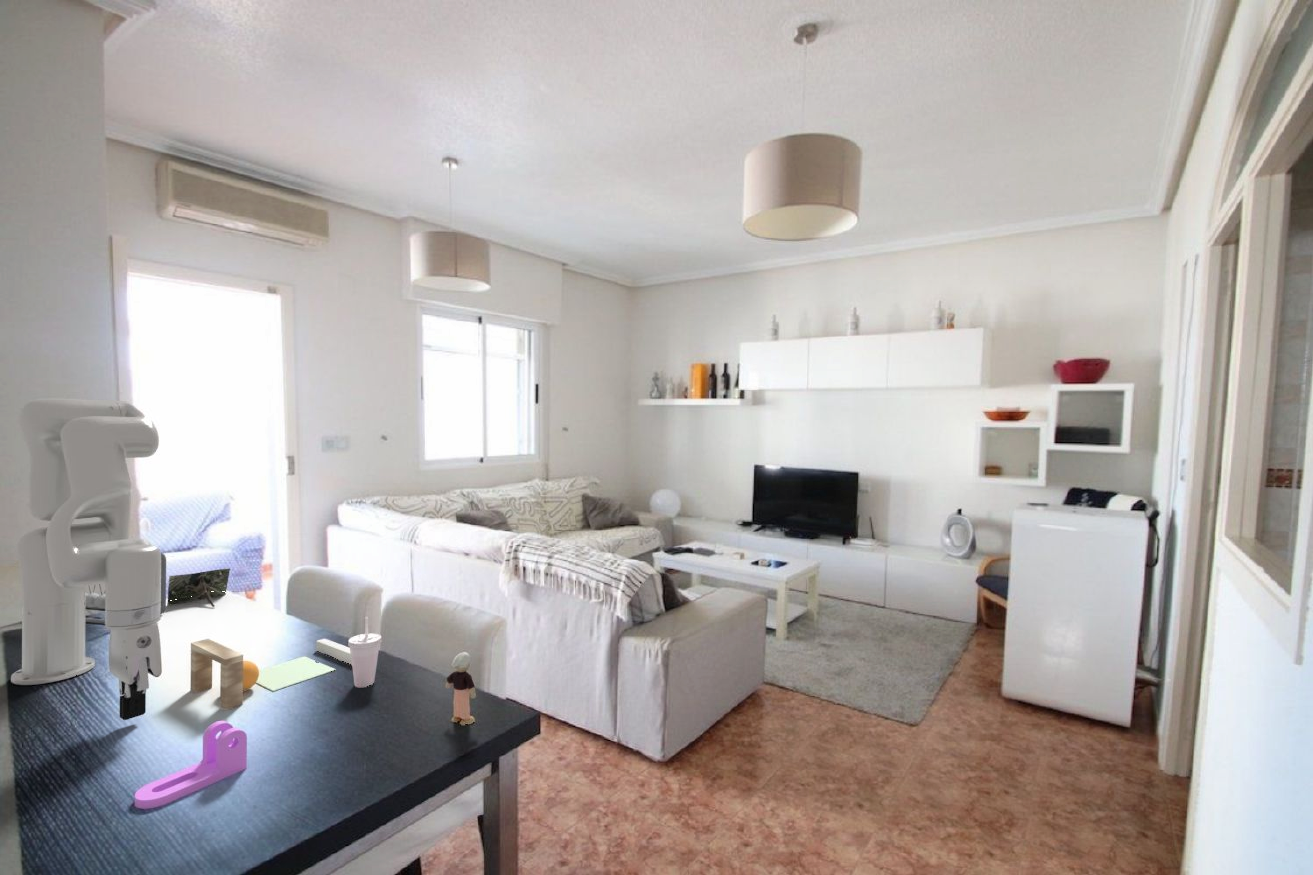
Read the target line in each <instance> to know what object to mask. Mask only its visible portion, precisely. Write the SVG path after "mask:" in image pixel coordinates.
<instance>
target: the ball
mask: <svg viewBox="0 0 1313 875" xmlns="http://www.w3.org/2000/svg"><path fill="white" fill-rule="evenodd" d="M259 670H260V669H259V668H258V665H256V663H254V662H252V661H250V660H243V692H246V691H248V690H250V689H251V688H252V687H253V686H254V685H255V684H257V683H256V681H257V680H258V677H259Z"/></svg>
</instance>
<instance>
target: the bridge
mask: <svg viewBox="0 0 1313 875" xmlns="http://www.w3.org/2000/svg"><path fill="white" fill-rule="evenodd" d="M213 661H215V662H216V663H219V664H220V673H219V674H220V675H219V676H220V682H219V683H220V684H219V686H220V690H219V691H220V692H219V693H220V694H219V708H220V709H222V710H224V711H227V710H230V709H232V708H235V707H238V706H239V707H240V706H242V705H244V704H243V701H244V699H243V698H244V697H243V696H244V695H243V694H244V691H243V661H244V654H243V653H240V652H238V651H236V650H234V649H232V648H229V647H227V646H225V645H223V644H220V643H219V642H217V641H214V640H212V639H209V638H205V639H201V640H198V641H193V642H190V687H189V688H190V691H191V692H192V693H194V694H195V693H199V692H202V691H205V690H208V689H212V688H213Z"/></svg>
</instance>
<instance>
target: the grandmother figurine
mask: <svg viewBox="0 0 1313 875" xmlns="http://www.w3.org/2000/svg"><path fill="white" fill-rule="evenodd" d="M470 659H471V655H470V654H469V652H466V651H463V652H460V653H458V654H457V655H456V656H455V657H454V659H453V660H452V663H451V667H452V668H455V670H456V671H453V672H452V673H450V674H449V675H448V676H447V677H446V682H445V686H444V688H445V689H450V688H451V686H453V689H454V692H453V717H452V718H451V719H450V722H451V721H452V722H451V723H454V722H456V723H459V725H460V724H461V726H466V725H465V724H468V725H471V724H474V723H475V722H476V719H475V717H474V716H472V715H471V707H470V699H475V698H476V697H477V695H476V688H475V684H474V681H473V677H472V675H471V674H470V673H469V672H467V671H468V670H469V668H470V666H471V664H470V662H471V660H470ZM452 684H453V685H452ZM462 719H463V720H462ZM460 720H461V721H460ZM458 721H459V722H458ZM473 722H474V723H473Z"/></svg>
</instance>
